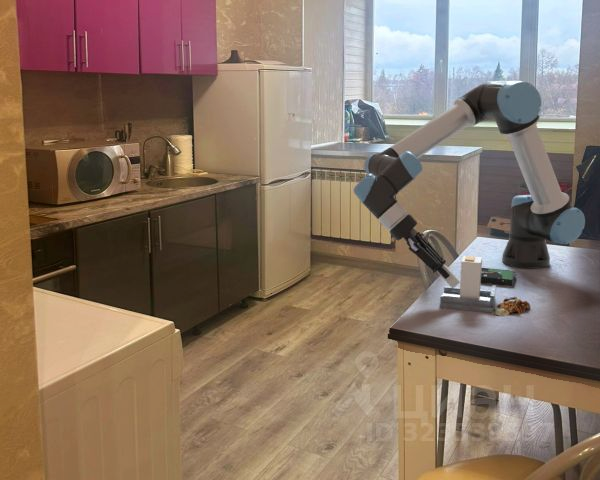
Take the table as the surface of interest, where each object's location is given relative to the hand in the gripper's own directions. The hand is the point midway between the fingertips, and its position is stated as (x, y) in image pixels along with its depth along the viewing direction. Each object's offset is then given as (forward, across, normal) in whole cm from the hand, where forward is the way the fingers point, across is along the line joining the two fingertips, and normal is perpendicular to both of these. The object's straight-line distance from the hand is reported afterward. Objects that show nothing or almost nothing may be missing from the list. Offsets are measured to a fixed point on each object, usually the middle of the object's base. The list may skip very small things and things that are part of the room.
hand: (456, 284), depth 180 cm
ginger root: (+14, +2, +6) cm, 16 cm away
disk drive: (+9, -25, +1) cm, 27 cm away
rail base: (+6, 0, -1) cm, 6 cm away
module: (+5, 0, 0) cm, 5 cm away
